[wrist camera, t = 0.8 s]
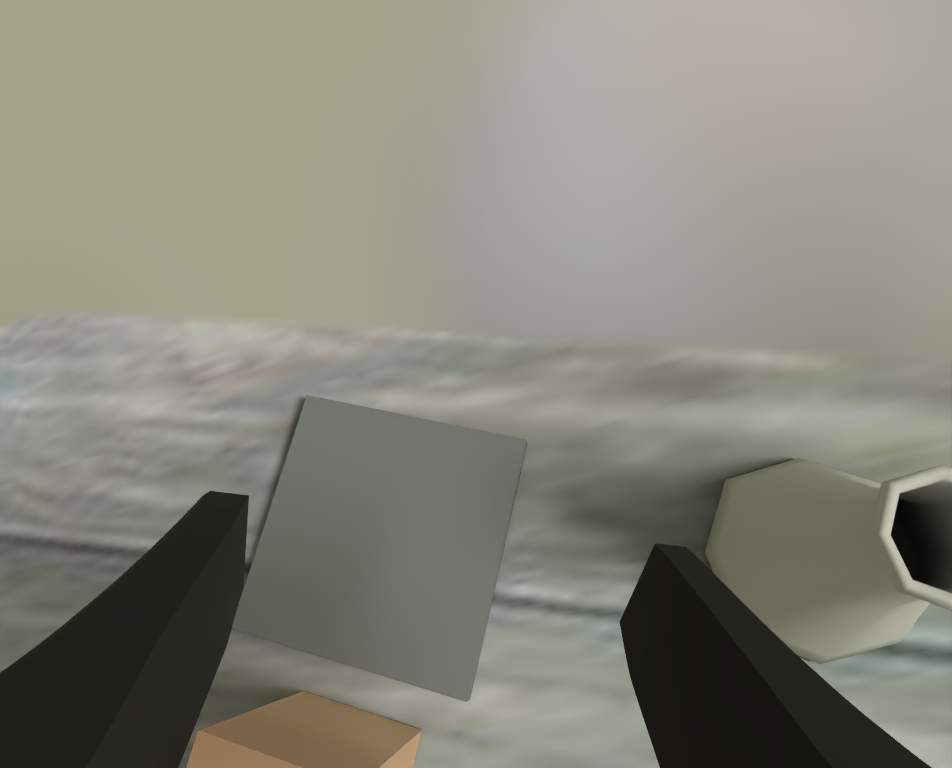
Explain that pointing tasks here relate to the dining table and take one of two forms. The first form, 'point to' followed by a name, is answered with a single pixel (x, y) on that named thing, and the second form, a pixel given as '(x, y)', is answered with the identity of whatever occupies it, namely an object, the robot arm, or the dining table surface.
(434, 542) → the mat
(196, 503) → the robot arm
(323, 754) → the light orange block
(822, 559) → the flask
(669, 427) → the dining table surface
